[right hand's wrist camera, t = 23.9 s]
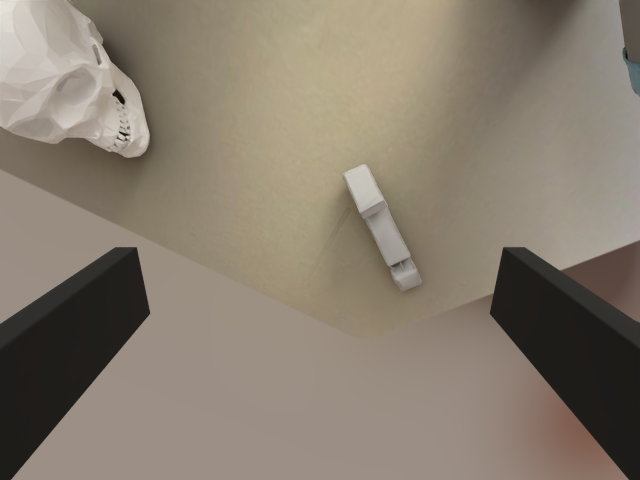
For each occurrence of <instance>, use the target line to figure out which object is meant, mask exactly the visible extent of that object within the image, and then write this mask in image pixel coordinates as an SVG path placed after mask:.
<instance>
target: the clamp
mask: <svg viewBox="0 0 640 480" xmlns="http://www.w3.org/2000/svg"><path fill="white" fill-rule="evenodd" d="M343 179H344V181H345V183H346V184H347V186H348V188H349V190H350V193H351V195H352V197H353V199H354V201H355V204H356V206H357V208H358V210H359V212H360V214H361V216H362V218H363V219H365V221H366V223H367V225H368V227H369V229H370V231H371V233H372V235H373V237H374V239H375V241H376V243H377V245H378V247H379V250H380V252H381V254H382V256H383V258H384V260H385V263H386V264H387V265H388V266H390V268H391V270H390V271H391V275H392V278H393V280H394V282H395V284H396V285H397V287H398V288H399V289H400V290H401V292H404V291H406V290H408V289H411V288H413V287H415V286H417V285H420V284H422V279H421V277H420V275H419V272H418V270H417V269H416V267H415V265H414V263H413V261H412V259H411V258H410V256H411V255H410V252H409V250H408V248H407V246H406V244H405V242H404V240H403V238H402V236H401V234H400V232H399V230H398V228H397V226H396V224H395V222H394V220H393V218H392V216H391V214H390V211H389V209H388V205H387V203H386V201H385V199H384V197H383V195H382V193H381V191H380V189H379V187H378V185H377V183H376V181H375V179H374V177H373V175H372V173H371V171H370V169H369V167H368V165H365V164H362V165H359V166H357V167H355V168H353V169H351V170H349V171H347V172H344V173H343ZM406 258H407V259H406ZM404 259H405V260H404ZM402 260H404V261H403V262H401V261H402ZM398 262H400V264H399V265H397V266H395V267H393V268H392V266H391V265H393V264H395V263H398Z"/></svg>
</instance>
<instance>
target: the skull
mask: <svg viewBox="0 0 640 480" xmlns="http://www.w3.org/2000/svg"><path fill="white" fill-rule="evenodd" d="M101 44H103V38H102V37H101V35H100V33H99V32H98V31H97V29H96V27H95V25H94V22H93V21H92V20H90V19H89V18H88V17H86V16H85V15H84V14H82V13H81V12H79V11H78V10H77V9H76V8H74V7H73V6H72V5H71V4H70V3H69V2H68V1H67V0H0V126H1V127H3V128H4V129H6V130H8V131H10V132H11V133H13V134H16V135H20V136H23V137H26V138H30V139H34V140H38V141H42V142H46V143H50V144H57V143H59V142H60V141H62V140H63V139H64V138H66V137H67V138H85V139H86V140H88V141H90V142H91V143H93V144H95V145H96V146H99V147H101V148H103V149H105V150H107V151H109V152H110V151H113V152H117V153H119V154H121V155H122V156H124V157H127V158H131V157H137V156H141V155H142V154H143V153H144V152H145V151H146V150H147V147H148V145H149V140H150V134H149V130H148V126H147V123H146V118H145V114H144V110H143V106H142V101H141V97H140V93H139V91H138V90H137V88H136V86H135V85H134V83H133V82H132V80H131V79H130V78H129V77H128V76H126V75H125V74H124V73H123V72H122V71H121V70H120V69H118V68H117V66H115V65H114V64H113V63H112V62H111V61H110V59H109V57H108V55H107V53H106V51H105V50H104V48H103V46H102V45H101ZM97 59H98V61H99V63H100V65H98V61H97ZM116 89H117V90H118V92H119V93H120V94H121V95H122V96H123V98H124V100H125V104H124V105H123V104H122V103H120V102H119V100H118V99H117V98H116V97H113V95H112V93H114V91H115V90H116ZM122 107H123V108H122ZM124 114H125V115H124ZM120 121H121V122H123V123H124V124H123V123H121V122H120ZM120 126H121V127H123V128H125V129H123V128H120ZM127 127H128V129H127ZM119 131H120V132H123V133H127V134H128V136H126V137H125V136H123V135H122V134H120V133H119ZM117 136H118V137H119V138H120V139H122V140H123V141H121V140H118V139H116V138H117ZM125 138H127V139H128V140H127V141H125Z"/></svg>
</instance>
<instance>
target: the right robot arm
mask: <svg viewBox="0 0 640 480" xmlns="http://www.w3.org/2000/svg"><path fill="white" fill-rule="evenodd" d="M619 4H620V12H621V20H622V27H623V35H624V42H625V47H624V49H623V59H624V61H625V62H626V64H627V65H628V70H629V75H630V80H631V85H632V88H633V90H634V92H635V93H636V94H638V95H639V96H640V0H619ZM149 314H150V310H149V305H148V300H147V295H146V290H145V285H144V281H143V276H142V271H141V266H140V261H139V256H138V251H137V248H136V247H115V248H114V249H112V250H111V251H109V252H108V253H106V254H105V255H103V256H102V257H100V258H99V259H97V260H96V261H94V262H93V263H91V264H90V265H88V266H87V267H85V268H84V269H82V270H81V271H79V272H78V273H76V274H75V275H73V276H72V277H70V278H69V279H67V280H66V281H64V282H63V283H61V284H60V285H58V286H57V287H55V288H54V289H52V290H51V291H49V292H47V293H46V294H44V295H43V296H41V297H40V298H39V299H37V300H35V301H34V302H32V303H31V304H29V305H28V306H26V307H25V308H23V309H22V310H20V311H19V312H17V313H16V314H14V315H13V316H12V317H10V318H8V319H7V320H5V321H4V322H3V323H1V324H0V480H11V479H12V478H13V477H14V475H15V474H16V473H17V472H18V471H19V469H20V468H21V467H22V466H23V465H24V463H25V462H26V461H27V460H28V459H29V458H30V456H31V455H32V454H33V453H34V452H35V450H36V449H37V448H38V447H39V446H40V444H41V443H42V442H43V441H44V440H45V438H46V437H47V436H48V435H49V434H50V433H51V431H52V430H53V429H54V428H55V427H56V425H57V424H58V423H59V422H60V421H61V419H62V418H63V417H64V416H65V415H66V413H67V412H68V411H69V410H70V409H71V407H72V406H73V405H74V404H75V403H76V401H77V400H78V399H79V398H80V397H81V396H82V394H83V393H84V392H85V391H86V389H87V388H88V387H89V386H90V385H91V384H92V382H93V381H94V380H95V379H96V378H97V376H98V375H99V374H100V373H101V372H102V370H103V369H104V368H105V367H106V366H107V365H108V363H109V362H110V361H111V360H112V359H113V357H114V356H115V355H116V354H117V353H118V351H119V350H120V349H121V348H122V347H123V345H124V344H125V343H126V342H127V341H128V339H129V338H130V337H131V336H132V335H133V333H134V332H135V331H136V330H137V329H138V328H139V326H140V325H141V324H142V323H143V321H144V320H145V319H146V318H147V317H148V316H149ZM490 314H491V316H492V317H493V318H494V319H495V320H496V322H497V323H498V324H499V325H500V326H501V327H502V329H503V330H504V331H505V332H506V333H507V335H508V336H509V337H510V338H511V339H512V341H513V342H514V343H515V344H516V345H517V347H518V348H519V349H520V350H521V351H522V353H523V354H524V355H525V356H526V357H527V359H528V360H529V361H530V362H531V363H532V364H533V366H534V367H535V368H536V369H537V370H538V372H539V373H540V374H541V375H542V376H543V378H544V379H545V380H546V381H547V382H548V384H549V385H550V386H551V387H552V388H553V390H554V391H555V392H556V393H557V394H558V396H559V397H560V398H561V399H562V400H563V401H564V403H565V404H566V405H567V406H568V407H569V409H570V410H571V411H572V412H573V413H574V415H575V416H576V417H577V418H578V419H579V421H580V422H581V423H582V424H583V425H584V427H585V428H586V429H587V430H588V431H589V432H590V434H591V435H592V436H593V437H594V438H595V440H596V441H597V442H598V443H599V444H600V446H601V447H602V448H603V449H604V450H605V452H606V453H607V454H608V455H609V456H610V458H611V459H612V460H613V461H614V462H615V464H616V465H617V466H618V467H619V468H620V469H621V471H622V472H623V473H624V474H625V475H626V477H627V478H628V479H629V480H640V323H639V322H637V321H635V320H633V319H632V318H630V317H629V316H627V315H626V314H624V313H623V312H621V311H620V310H618V309H617V308H615V307H614V306H612V305H611V304H609V303H607V302H606V301H605V300H603V299H601V298H600V297H599V296H597V295H595V294H594V293H593V292H591V291H589V290H588V289H586V288H585V287H583V286H582V285H580V284H579V283H577V282H576V281H574V280H573V279H571V278H570V277H568V276H567V275H565V274H564V273H562V272H561V271H559V270H558V269H556V268H555V267H553V266H552V265H550V264H549V263H547V262H546V261H544V260H543V259H541V258H540V257H538V256H537V255H535V254H534V253H532V252H531V251H529V250H528V249H526V248H525V247H503V251H502V256H501V261H500V266H499V271H498V276H497V281H496V285H495V290H494V295H493V300H492V305H491V310H490Z"/></svg>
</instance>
